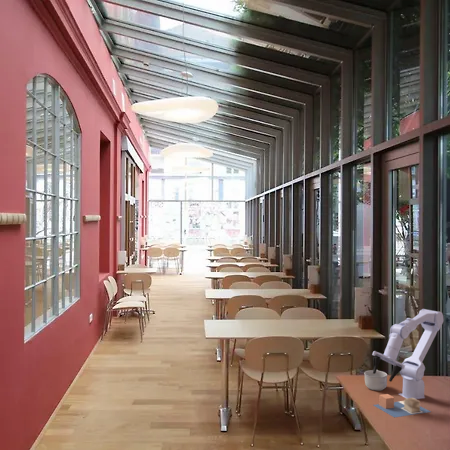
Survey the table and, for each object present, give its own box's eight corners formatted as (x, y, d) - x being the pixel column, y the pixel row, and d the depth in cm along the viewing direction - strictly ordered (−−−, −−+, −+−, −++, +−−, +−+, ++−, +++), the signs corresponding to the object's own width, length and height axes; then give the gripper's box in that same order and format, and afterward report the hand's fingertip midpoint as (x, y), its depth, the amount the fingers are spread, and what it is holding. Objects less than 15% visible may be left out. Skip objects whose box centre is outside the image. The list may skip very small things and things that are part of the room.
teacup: (383, 394, 231) (384, 378, 231) (361, 389, 237) (361, 373, 236) (390, 386, 243) (391, 370, 243) (368, 382, 248) (369, 366, 248)
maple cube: (412, 407, 214) (412, 397, 214) (419, 411, 210) (420, 401, 210) (404, 408, 212) (404, 398, 212) (411, 412, 208) (411, 402, 208)
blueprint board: (408, 401, 223) (408, 399, 223) (431, 413, 210) (431, 411, 210) (372, 406, 216) (372, 404, 216) (394, 418, 203) (394, 416, 203)
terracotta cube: (387, 403, 218) (387, 393, 218) (393, 407, 213) (394, 397, 213) (378, 404, 216) (379, 394, 216) (385, 408, 212) (386, 398, 212)
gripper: (379, 341, 217) (368, 369, 214) (410, 356, 215) (400, 384, 211) (375, 342, 224) (365, 370, 220) (405, 357, 221) (395, 384, 218)
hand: (382, 377), depth 216 cm, fingers open, 7 cm apart
